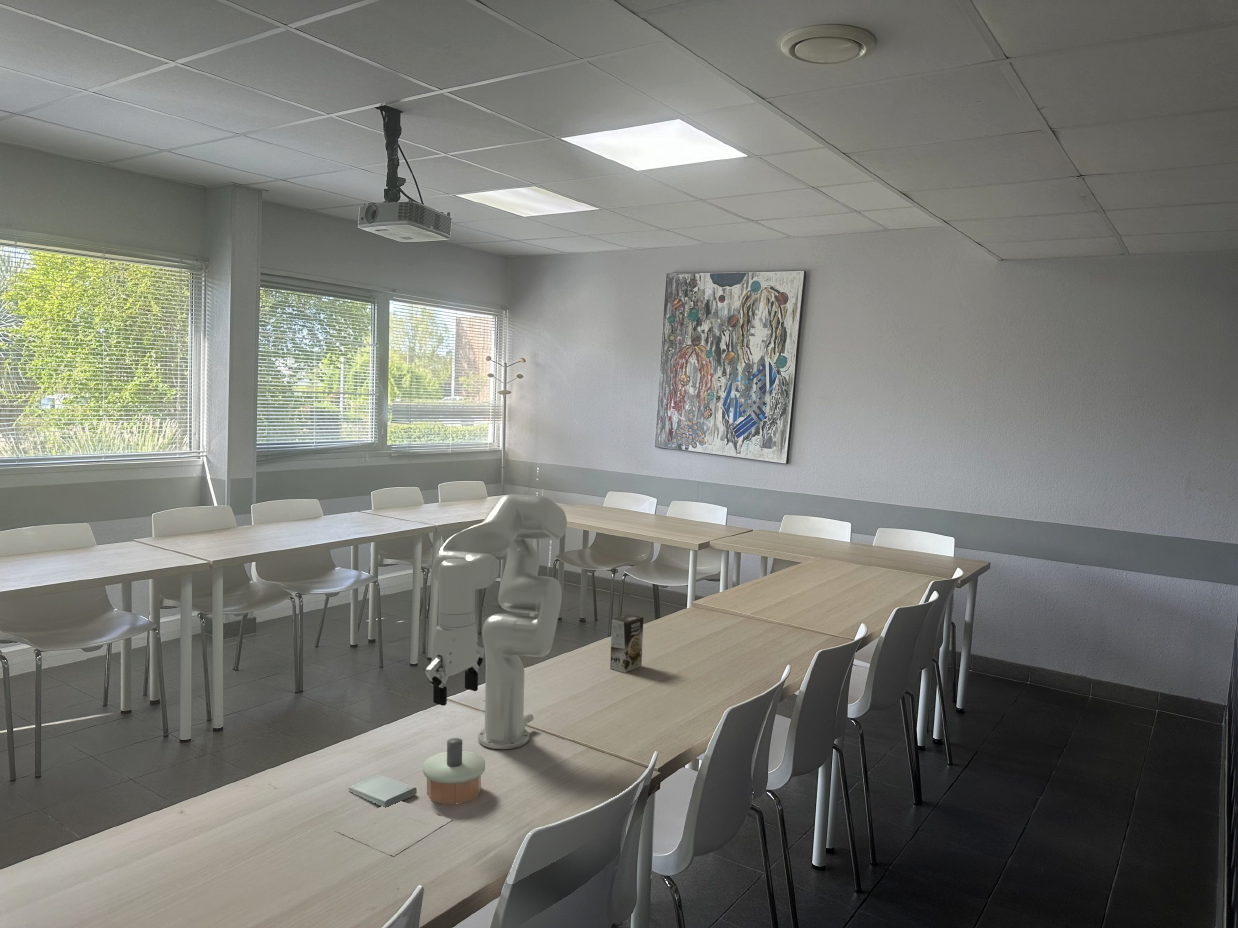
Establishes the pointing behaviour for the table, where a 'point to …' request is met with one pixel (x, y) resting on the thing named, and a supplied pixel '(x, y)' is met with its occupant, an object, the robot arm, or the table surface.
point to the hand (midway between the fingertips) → (456, 696)
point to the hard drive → (383, 790)
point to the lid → (454, 764)
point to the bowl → (453, 791)
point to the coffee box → (626, 643)
